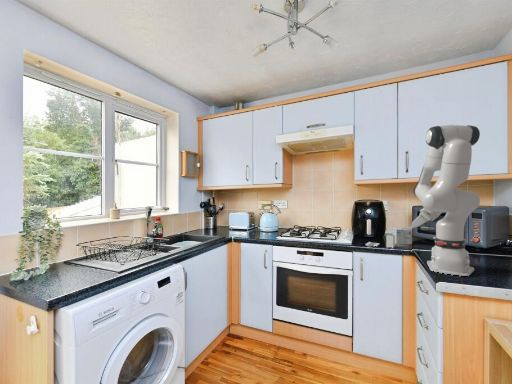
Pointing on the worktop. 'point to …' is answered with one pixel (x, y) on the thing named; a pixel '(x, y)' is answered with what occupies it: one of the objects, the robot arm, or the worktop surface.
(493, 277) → the worktop surface
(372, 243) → the mounting pad
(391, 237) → the grey module
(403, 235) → the light bulb box
